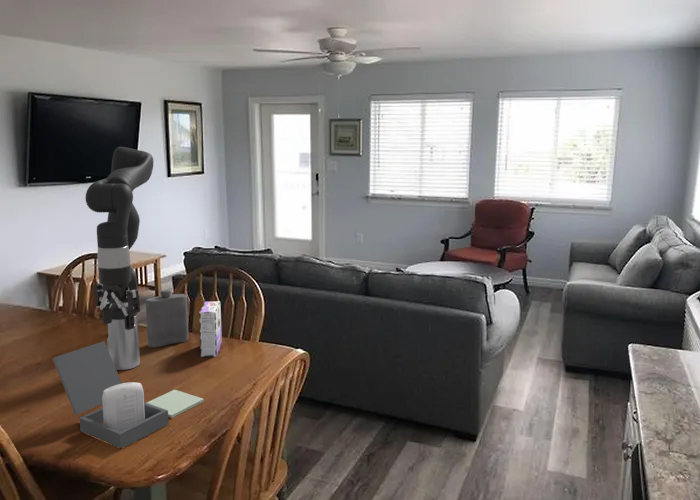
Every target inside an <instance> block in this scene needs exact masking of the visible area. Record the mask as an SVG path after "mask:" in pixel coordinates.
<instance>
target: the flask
mask: <svg viewBox="0 0 700 500" xmlns="http://www.w3.org/2000/svg"><path fill="white" fill-rule="evenodd" d="M188 315H189V314H188V295H187V294H185V293H175V294H174V293H173V294H172V293H171V290H170V289H162V290H161V291H160V296H153V297H149V298H146V299H145V316H146V333H147V347H149V348H152V349H153V348H154V349H155V348H159V347H164V346H167V345H172V344H173V345H174V344H180V343H185V342H188V341H189V339H190V338H189V316H188Z"/></svg>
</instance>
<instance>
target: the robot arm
mask: <svg viewBox="0 0 700 500" xmlns="http://www.w3.org/2000/svg"><path fill="white" fill-rule="evenodd" d="M153 170H154V158H153V156H152V154H151V153H149V152H147V151H144V150H140V149H139V150H138V149H134V148H130V147H126V146H118V147H116V148H115V150H114V151H113V154H112V160H111V170H110V174H109V175H108V176H107V177H106V178H103V179H99V180H97V181H95V182H93V183H91V184H90V186H89V187H88V188H87V190H86V193H85V203H86V205H87V207H88V209H90V210H91V211H92V212H95V213H107V220H106V221H104V222H101V223H99V224H97V226H96V240H97V241H96V243H97V255H96V256H97V271H98V283H95V284H94V286H93V287H94V306H95V307H98V308H99V309H100V310H101V318H102V324H104V325H107V332H108V333H107V334H108V337H107V339H106V340H107V341H106V342H107V349H108V351H109V354H110V356H111V359H112V361H113V363H114V366H115V368H116V371H127V370H130V369H134V368H137V367H138V366H139V365H140V364H141V361H140V359H141V358H140V341H139V340H140V339H139V326H138V325H139V324H138V313H140V312H141V306H140V296H139V295H140V294H139V290H138V278H137V274H136V272H135V270H134V268H133V267H131V254H130V249H131V248H132V247H133V246H134V245H135V242H136V241H137V240H138V235H139V229H140V221H141V220H140V215H139V213H138V210H137V208H136V207H135V205H134V203H133V200H134V193H133V192H134V190H135V189H137V188H138V187H140V186H142V185H144V184H145V183H147V182H148V181H149V180H150V178H151V176H152V173H153ZM100 298H101V299H100Z"/></svg>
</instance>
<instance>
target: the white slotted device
mask: <svg viewBox="0 0 700 500" xmlns="http://www.w3.org/2000/svg"><path fill="white" fill-rule="evenodd" d="M121 383H122V382H121ZM144 394H145V393H144V388H143V385H142V383H140V382H134V381H132V382H123V383H122V384H118V385H115V386H112V387H110V388H107V389H106V390H104V391H103V396H102V403H103V404H102V408H103V421H104V423H103V425H106V426H108V427H111V428H113V429H116V430H118V431H123V430H125V429H127V428H129V427H131V426H133V425H135V424H137V423H139V422H141V421H143V420H145V419H146V418H145V412H144V402H145V395H144Z"/></svg>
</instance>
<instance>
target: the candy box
mask: <svg viewBox="0 0 700 500" xmlns="http://www.w3.org/2000/svg"><path fill="white" fill-rule="evenodd" d="M221 306H222V305H221V301H220V300H219V301H204V302H203V305H202V307H201V309H200V310H199V313H198V315H199V317H198V319H199V320H198V321H199V345H200V349H199V351H200V358H204V357H205V358H207V357H209V358H210V357H212V358H216V357H217V356H218V354H219V351H220V348H221V346H222V344H223V339H222V334H223V333H222V310H221Z"/></svg>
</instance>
